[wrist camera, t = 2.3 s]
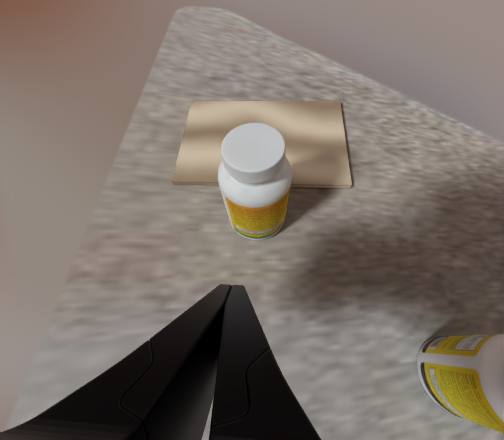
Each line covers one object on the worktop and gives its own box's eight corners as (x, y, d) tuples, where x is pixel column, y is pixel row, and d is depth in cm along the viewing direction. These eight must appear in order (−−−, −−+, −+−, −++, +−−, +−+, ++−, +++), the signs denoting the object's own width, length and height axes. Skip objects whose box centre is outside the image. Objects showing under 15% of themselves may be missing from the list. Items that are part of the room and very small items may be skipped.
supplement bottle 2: (484, 432, 16) (680, 513, 8) (407, 390, 17) (518, 428, 10) (492, 357, 18) (659, 368, 10) (422, 323, 19) (526, 311, 11)
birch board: (349, 188, 25) (351, 184, 24) (173, 184, 26) (171, 181, 25) (338, 105, 30) (340, 100, 29) (192, 105, 31) (191, 101, 31)
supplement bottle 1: (220, 206, 24) (196, 132, 16) (268, 184, 25) (269, 103, 17) (245, 252, 22) (232, 195, 14) (296, 226, 23) (314, 157, 14)
